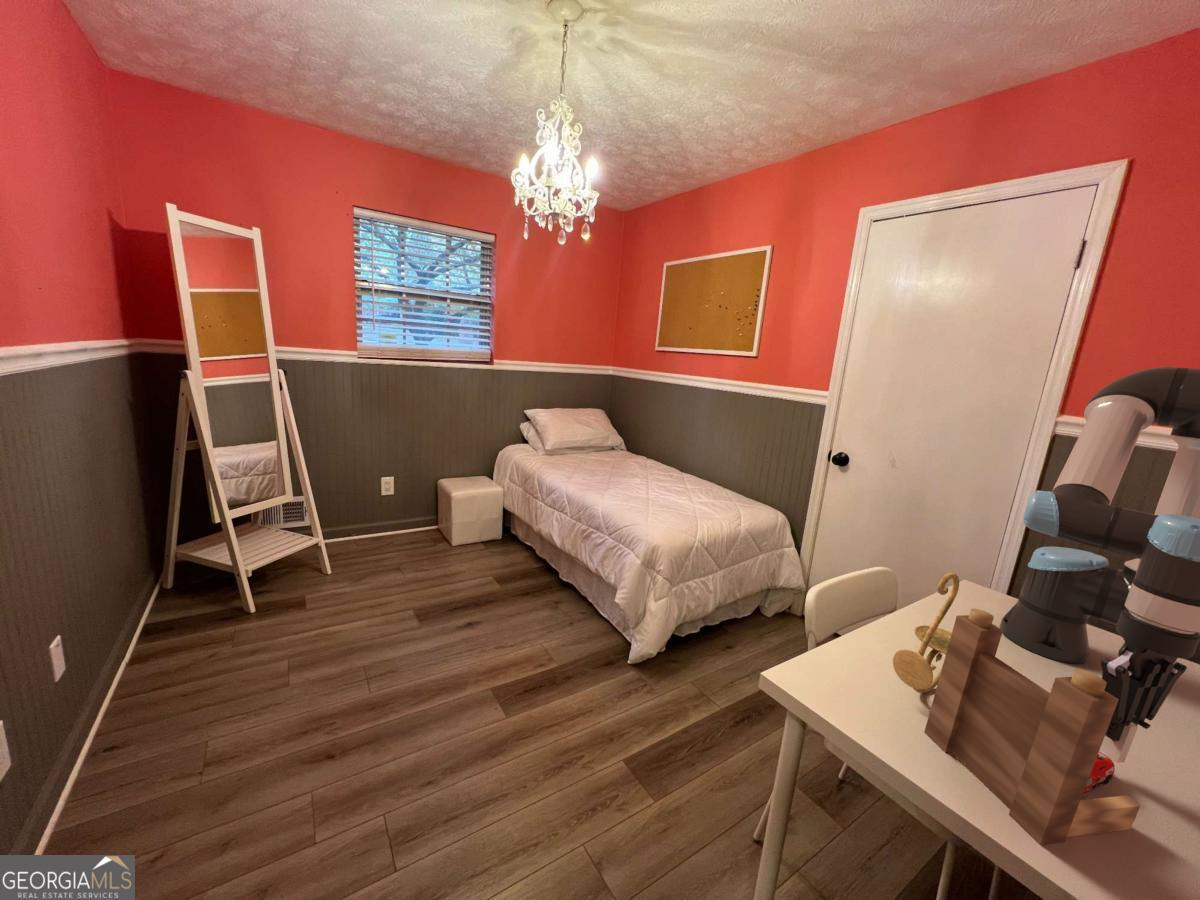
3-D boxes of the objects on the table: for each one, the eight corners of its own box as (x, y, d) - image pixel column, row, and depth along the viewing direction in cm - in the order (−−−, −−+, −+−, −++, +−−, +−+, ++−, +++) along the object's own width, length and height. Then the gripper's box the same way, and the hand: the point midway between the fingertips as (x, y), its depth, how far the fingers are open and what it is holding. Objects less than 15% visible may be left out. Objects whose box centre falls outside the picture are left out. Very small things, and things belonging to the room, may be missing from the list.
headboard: (1002, 726, 80) (1041, 605, 75) (1135, 833, 62) (1197, 684, 57) (924, 732, 77) (959, 606, 72) (1040, 844, 60) (1096, 689, 55)
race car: (1067, 803, 66) (1076, 780, 65) (1024, 770, 71) (1031, 749, 70) (1120, 782, 70) (1128, 761, 70) (1075, 752, 75) (1082, 732, 75)
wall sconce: (930, 721, 79) (967, 591, 74) (877, 684, 88) (907, 565, 82) (972, 699, 86) (1008, 578, 80) (919, 667, 94) (948, 555, 89)
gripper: (1160, 605, 71) (1112, 732, 76) (1094, 606, 69) (1049, 737, 74) (1231, 634, 64) (1174, 773, 69) (1161, 636, 62) (1107, 780, 67)
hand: (1109, 754), depth 71 cm, fingers closed
